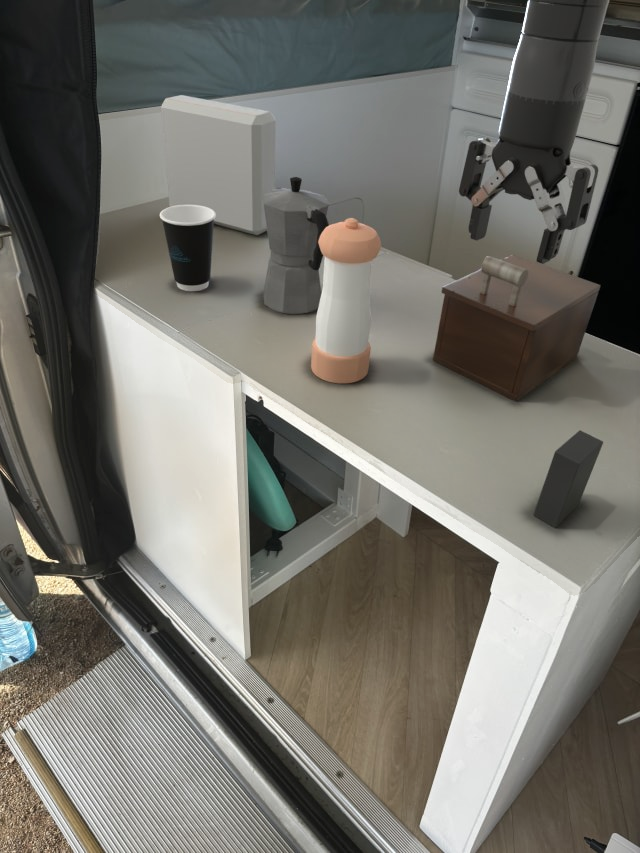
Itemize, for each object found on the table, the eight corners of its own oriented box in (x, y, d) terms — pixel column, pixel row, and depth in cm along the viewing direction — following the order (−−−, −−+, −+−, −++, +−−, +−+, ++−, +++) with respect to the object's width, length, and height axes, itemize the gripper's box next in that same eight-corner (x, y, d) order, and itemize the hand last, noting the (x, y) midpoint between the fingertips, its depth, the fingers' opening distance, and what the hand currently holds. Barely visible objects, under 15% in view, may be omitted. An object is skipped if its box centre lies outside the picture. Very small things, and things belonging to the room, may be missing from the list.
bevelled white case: (281, 226, 122) (283, 110, 110) (257, 239, 117) (256, 118, 105) (193, 203, 130) (185, 92, 118) (166, 213, 125) (155, 98, 113)
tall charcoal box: (580, 503, 65) (605, 440, 60) (555, 528, 62) (579, 463, 57) (558, 491, 66) (581, 428, 61) (532, 515, 63) (554, 451, 58)
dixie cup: (219, 274, 104) (216, 204, 97) (218, 296, 98) (214, 223, 91) (168, 273, 103) (162, 203, 97) (164, 295, 97) (156, 222, 90)
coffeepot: (245, 288, 100) (243, 167, 89) (299, 278, 104) (303, 160, 93) (291, 333, 90) (295, 201, 79) (349, 320, 94) (360, 193, 83)
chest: (516, 401, 79) (536, 329, 73) (432, 360, 86) (444, 291, 80) (576, 358, 88) (598, 291, 82) (496, 324, 95) (512, 260, 89)
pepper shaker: (302, 375, 81) (308, 224, 70) (322, 348, 87) (331, 204, 75) (358, 389, 79) (374, 235, 68) (375, 361, 85) (392, 214, 73)
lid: (532, 331, 73) (545, 287, 69) (441, 293, 79) (448, 251, 76) (599, 290, 82) (612, 250, 79) (512, 259, 89) (521, 221, 86)
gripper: (633, 99, 62) (583, 261, 72) (504, 74, 70) (474, 224, 79) (598, 108, 58) (549, 279, 67) (464, 80, 65) (438, 238, 75)
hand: (509, 249), depth 73 cm, fingers open, 8 cm apart
